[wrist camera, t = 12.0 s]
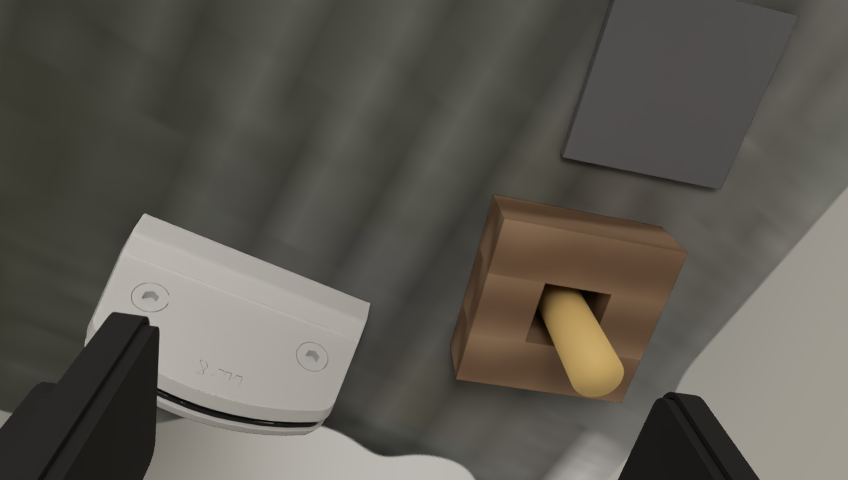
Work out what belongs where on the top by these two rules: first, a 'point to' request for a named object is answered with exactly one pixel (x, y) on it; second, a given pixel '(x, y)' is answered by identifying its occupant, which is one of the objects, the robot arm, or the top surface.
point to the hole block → (565, 266)
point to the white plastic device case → (234, 331)
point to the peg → (580, 341)
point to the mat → (676, 86)
